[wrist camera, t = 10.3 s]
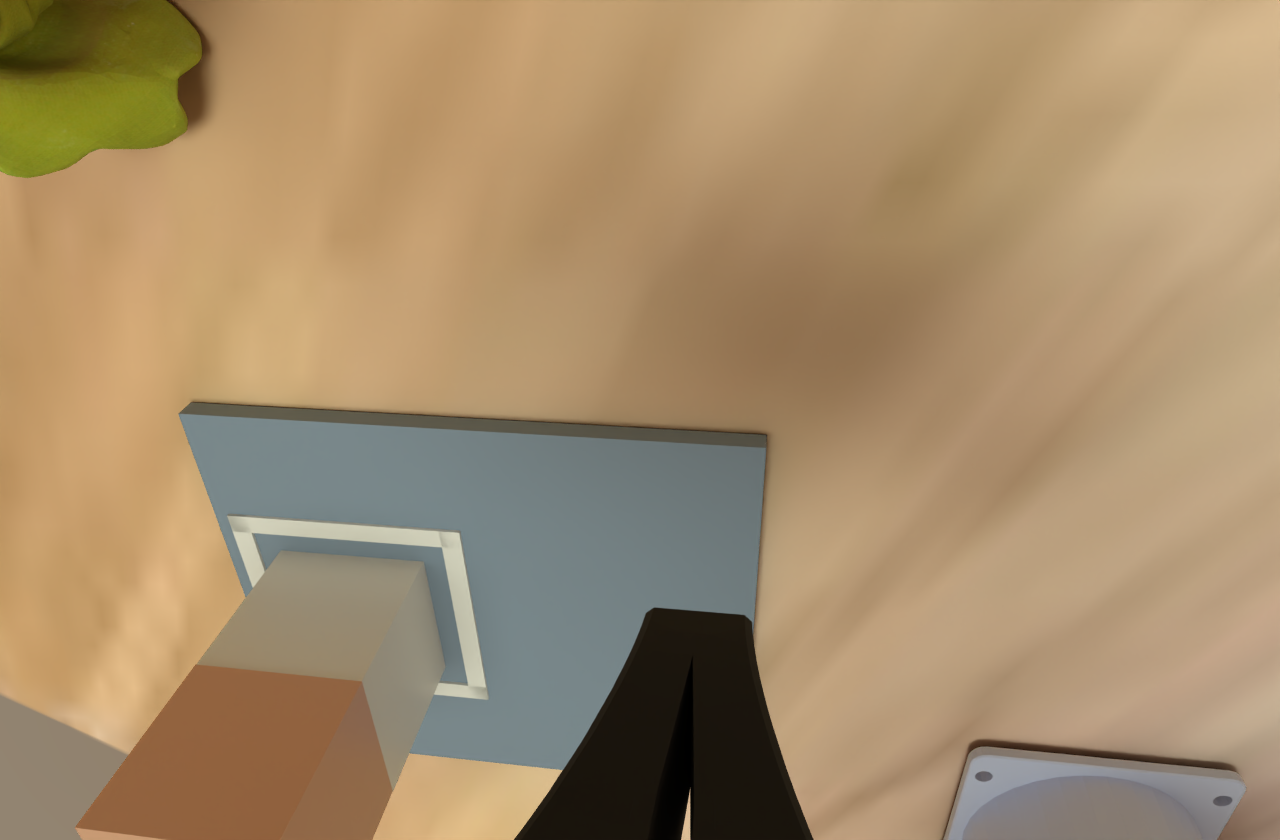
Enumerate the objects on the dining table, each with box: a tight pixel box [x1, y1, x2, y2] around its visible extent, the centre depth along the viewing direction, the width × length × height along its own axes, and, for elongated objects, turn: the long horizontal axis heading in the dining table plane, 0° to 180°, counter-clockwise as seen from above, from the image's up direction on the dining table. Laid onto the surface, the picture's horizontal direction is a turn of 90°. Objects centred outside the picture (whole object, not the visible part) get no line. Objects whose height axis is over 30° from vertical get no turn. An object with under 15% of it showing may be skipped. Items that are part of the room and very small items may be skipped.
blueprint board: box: [179, 403, 767, 770], centre depth 26 cm, size 14×16×1 cm
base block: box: [196, 550, 446, 790], centre depth 25 cm, size 4×4×4 cm
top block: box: [75, 665, 393, 840], centre depth 21 cm, size 4×4×4 cm
